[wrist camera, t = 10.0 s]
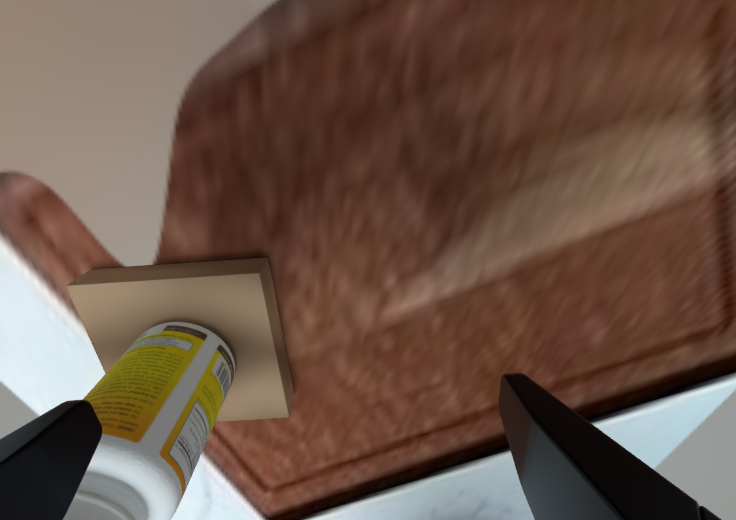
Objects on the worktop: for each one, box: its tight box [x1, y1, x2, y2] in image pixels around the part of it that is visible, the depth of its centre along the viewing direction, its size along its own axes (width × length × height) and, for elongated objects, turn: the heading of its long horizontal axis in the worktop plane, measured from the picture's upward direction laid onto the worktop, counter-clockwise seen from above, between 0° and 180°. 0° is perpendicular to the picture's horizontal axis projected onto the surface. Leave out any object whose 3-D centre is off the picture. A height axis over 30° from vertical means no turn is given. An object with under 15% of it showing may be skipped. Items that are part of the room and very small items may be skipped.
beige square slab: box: [66, 257, 294, 422], centre depth 22 cm, size 10×10×2 cm
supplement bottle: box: [63, 322, 235, 520], centre depth 17 cm, size 6×6×10 cm
